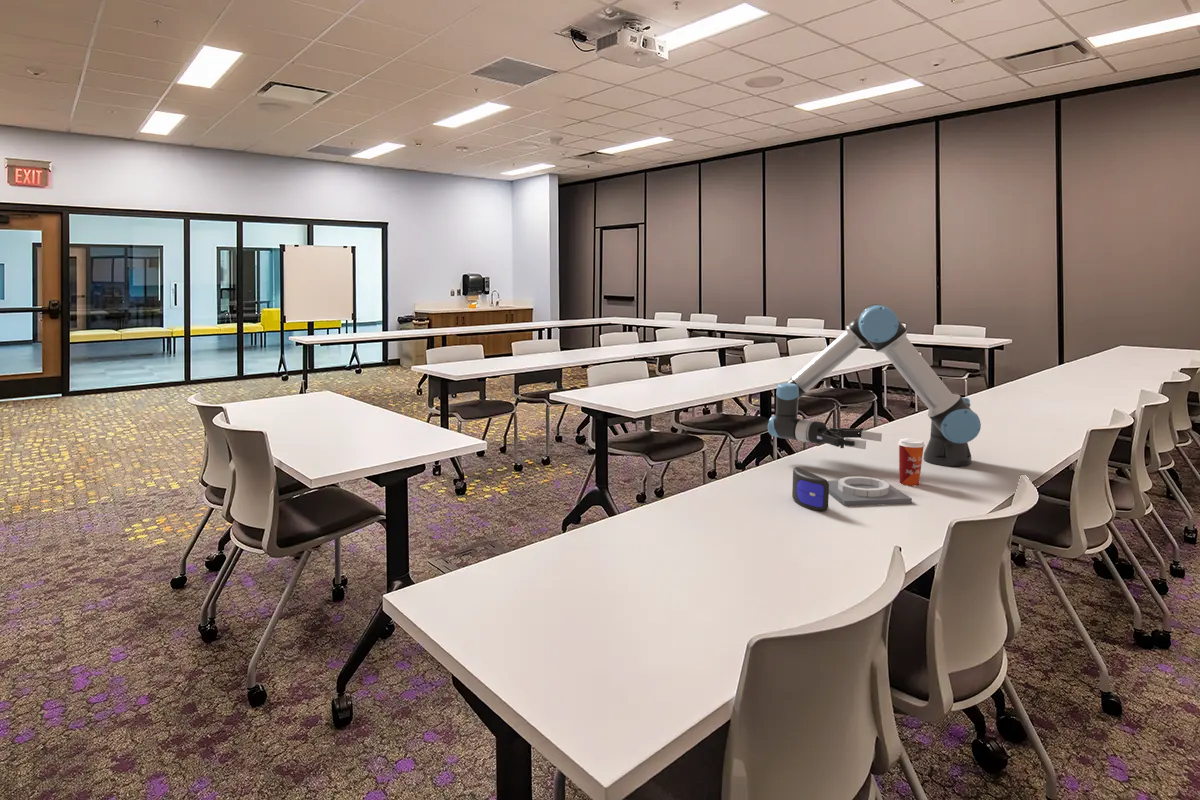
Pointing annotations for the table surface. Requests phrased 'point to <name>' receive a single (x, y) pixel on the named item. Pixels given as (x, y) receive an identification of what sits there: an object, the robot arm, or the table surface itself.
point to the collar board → (867, 500)
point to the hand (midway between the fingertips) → (873, 441)
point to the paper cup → (910, 460)
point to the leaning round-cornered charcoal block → (810, 490)
